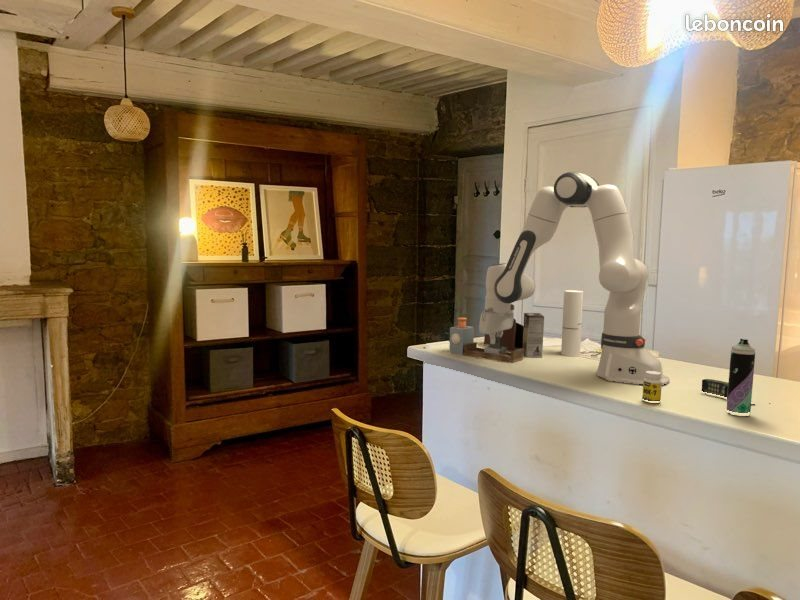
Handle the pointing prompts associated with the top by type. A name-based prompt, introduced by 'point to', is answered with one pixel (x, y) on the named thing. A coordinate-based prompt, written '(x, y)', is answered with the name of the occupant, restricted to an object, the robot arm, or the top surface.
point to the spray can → (741, 377)
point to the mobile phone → (715, 387)
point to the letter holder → (510, 337)
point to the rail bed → (479, 352)
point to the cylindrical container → (572, 323)
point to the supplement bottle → (652, 386)
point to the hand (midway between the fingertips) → (495, 343)
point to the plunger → (462, 322)
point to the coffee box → (533, 335)
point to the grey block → (460, 339)
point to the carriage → (496, 347)
